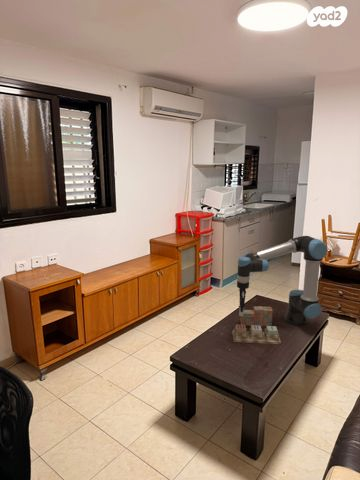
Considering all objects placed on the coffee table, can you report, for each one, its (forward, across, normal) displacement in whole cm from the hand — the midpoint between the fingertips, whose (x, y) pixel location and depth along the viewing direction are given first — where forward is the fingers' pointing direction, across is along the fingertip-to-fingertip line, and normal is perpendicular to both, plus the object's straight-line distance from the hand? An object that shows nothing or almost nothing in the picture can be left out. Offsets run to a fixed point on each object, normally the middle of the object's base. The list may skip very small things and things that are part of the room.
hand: (241, 315), depth 212 cm
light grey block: (+12, 0, +20) cm, 23 cm away
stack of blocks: (+16, -20, +13) cm, 29 cm away
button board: (+16, 0, +10) cm, 19 cm away
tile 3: (+12, 0, 0) cm, 12 cm away
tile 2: (+12, 0, +10) cm, 16 cm away
